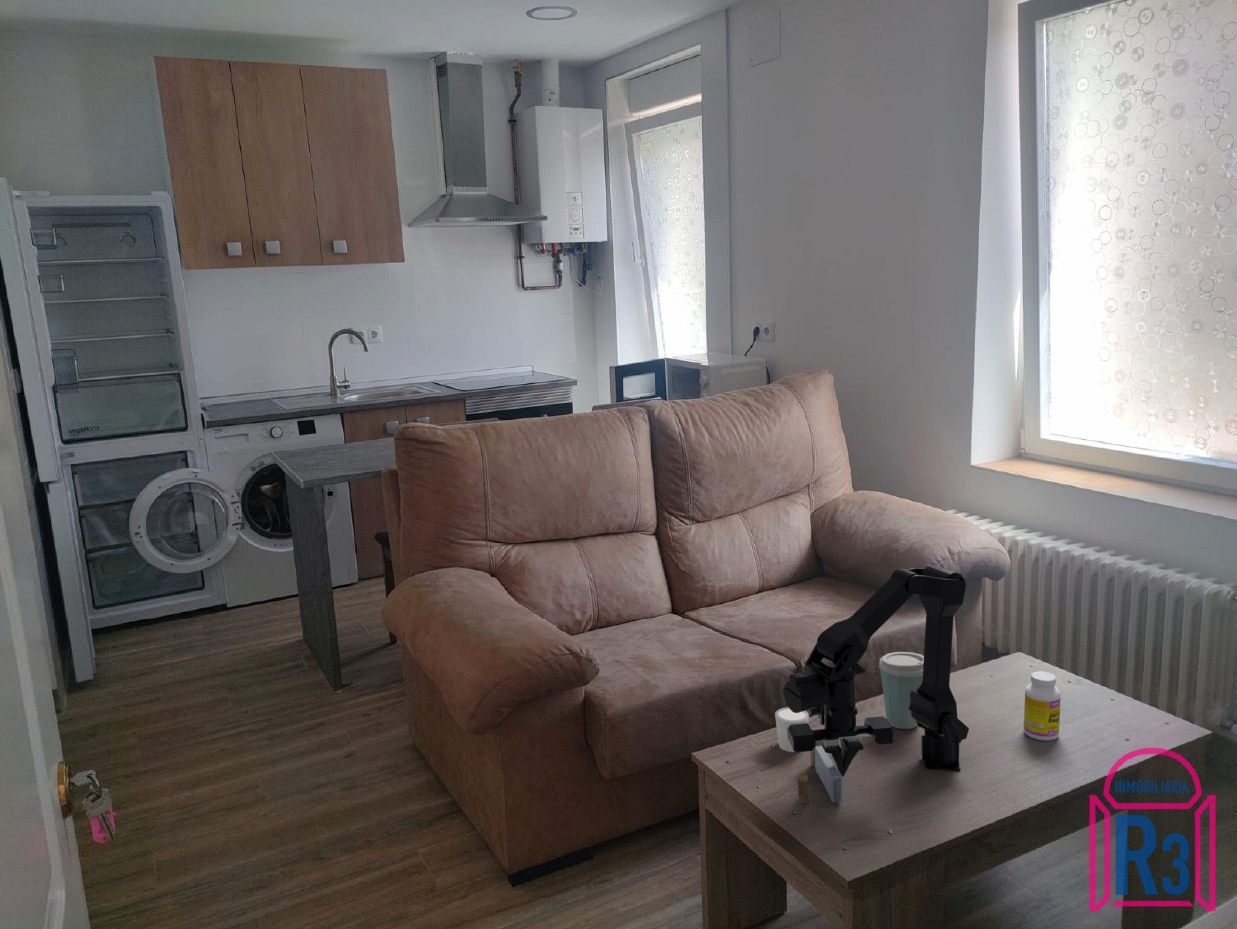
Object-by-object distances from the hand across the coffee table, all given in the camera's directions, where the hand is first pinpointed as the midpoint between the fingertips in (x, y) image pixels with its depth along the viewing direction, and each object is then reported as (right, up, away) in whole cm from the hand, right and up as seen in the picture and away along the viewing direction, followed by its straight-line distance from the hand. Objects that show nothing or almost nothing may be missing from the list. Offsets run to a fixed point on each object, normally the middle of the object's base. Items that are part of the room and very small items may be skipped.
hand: (841, 775), depth 172 cm
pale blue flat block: (-2, -3, +4) cm, 5 cm away
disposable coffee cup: (+20, +2, +26) cm, 33 cm away
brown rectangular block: (-7, -4, -1) cm, 9 cm away
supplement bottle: (+46, +2, +18) cm, 49 cm away
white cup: (-5, 0, +19) cm, 20 cm away
